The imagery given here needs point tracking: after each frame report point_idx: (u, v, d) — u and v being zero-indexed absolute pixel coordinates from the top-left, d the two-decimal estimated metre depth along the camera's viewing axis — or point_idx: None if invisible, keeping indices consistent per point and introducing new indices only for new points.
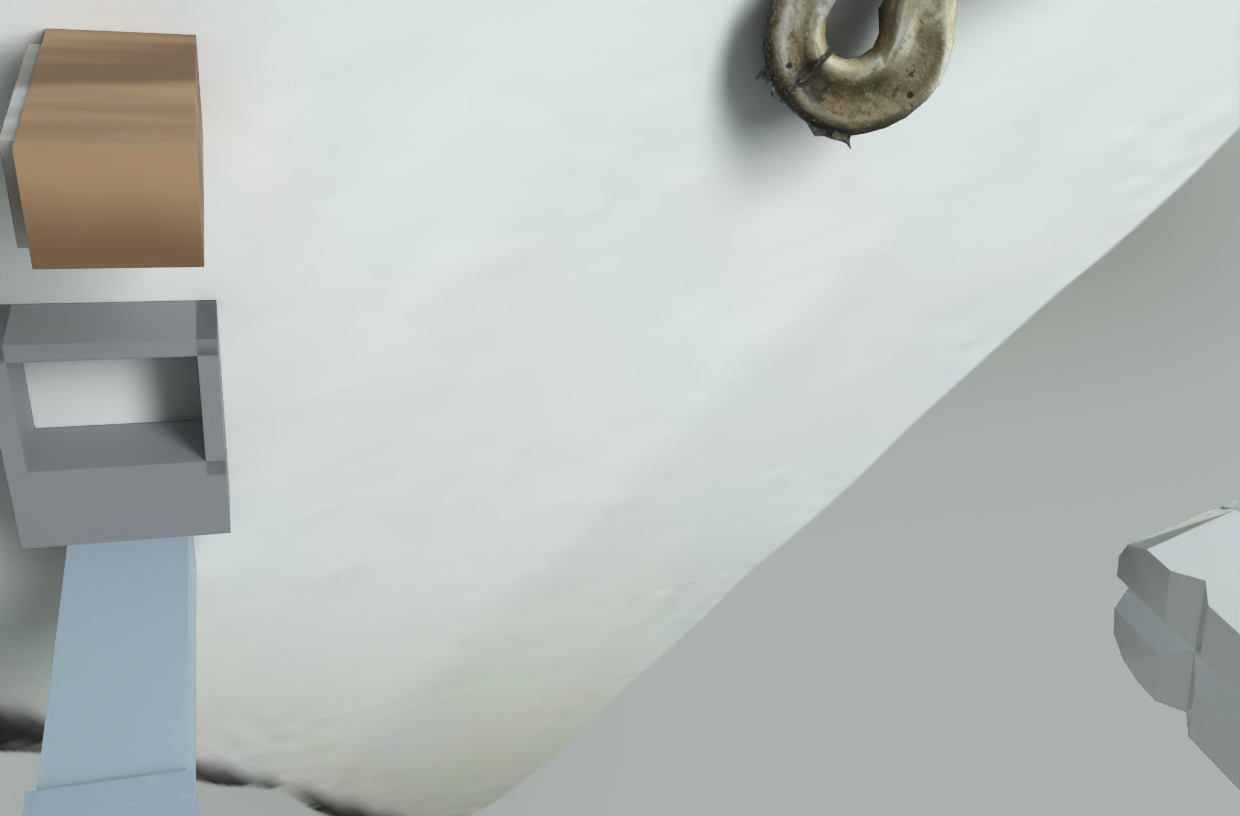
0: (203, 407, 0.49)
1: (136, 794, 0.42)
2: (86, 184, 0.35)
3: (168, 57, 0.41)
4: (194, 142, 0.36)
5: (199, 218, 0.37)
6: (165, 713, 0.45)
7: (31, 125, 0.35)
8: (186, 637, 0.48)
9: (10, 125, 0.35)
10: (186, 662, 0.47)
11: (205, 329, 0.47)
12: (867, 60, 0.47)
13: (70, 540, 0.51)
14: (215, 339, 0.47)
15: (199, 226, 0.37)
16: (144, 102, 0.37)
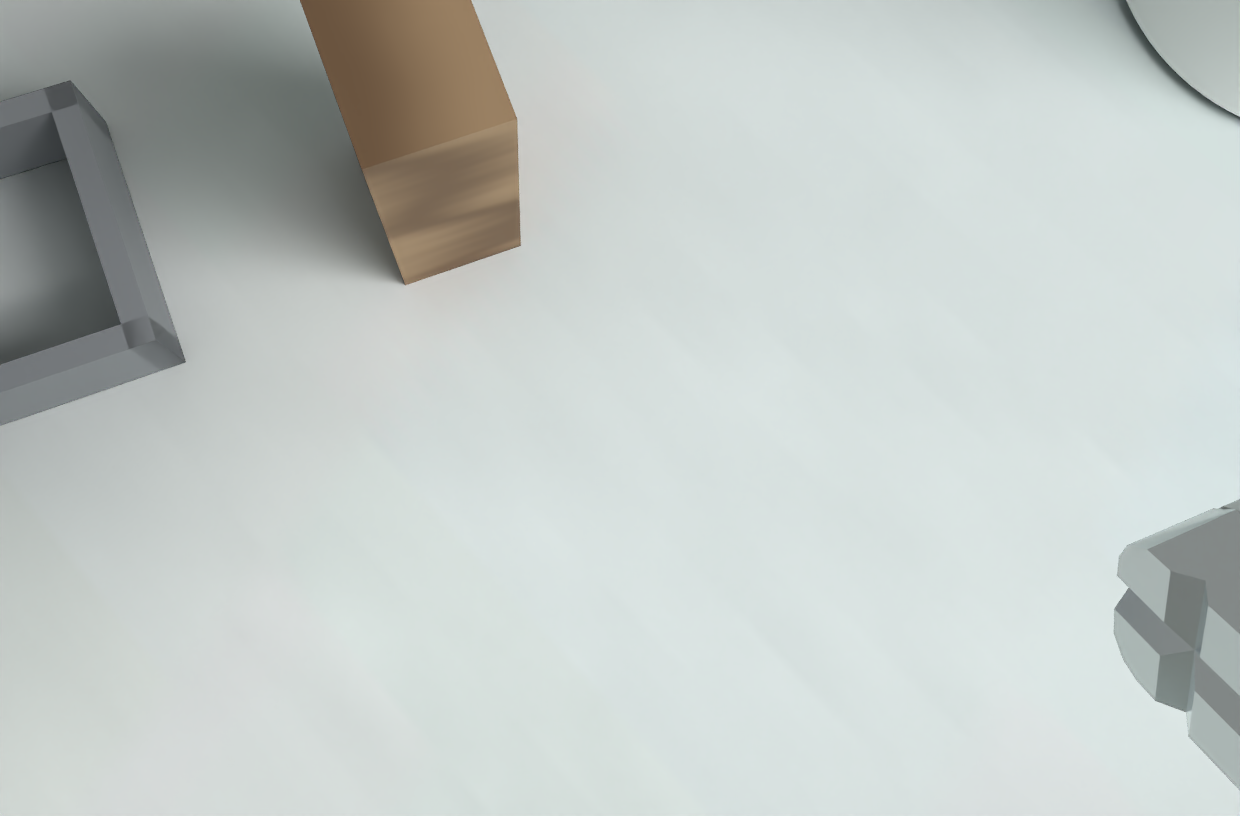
0: (33, 356, 0.34)
1: None
2: (431, 20, 0.29)
3: None
4: None
5: (429, 145, 0.29)
6: None
7: None
8: None
9: None
10: None
11: (159, 332, 0.35)
12: None
13: None
14: (154, 338, 0.34)
15: (417, 149, 0.28)
16: None
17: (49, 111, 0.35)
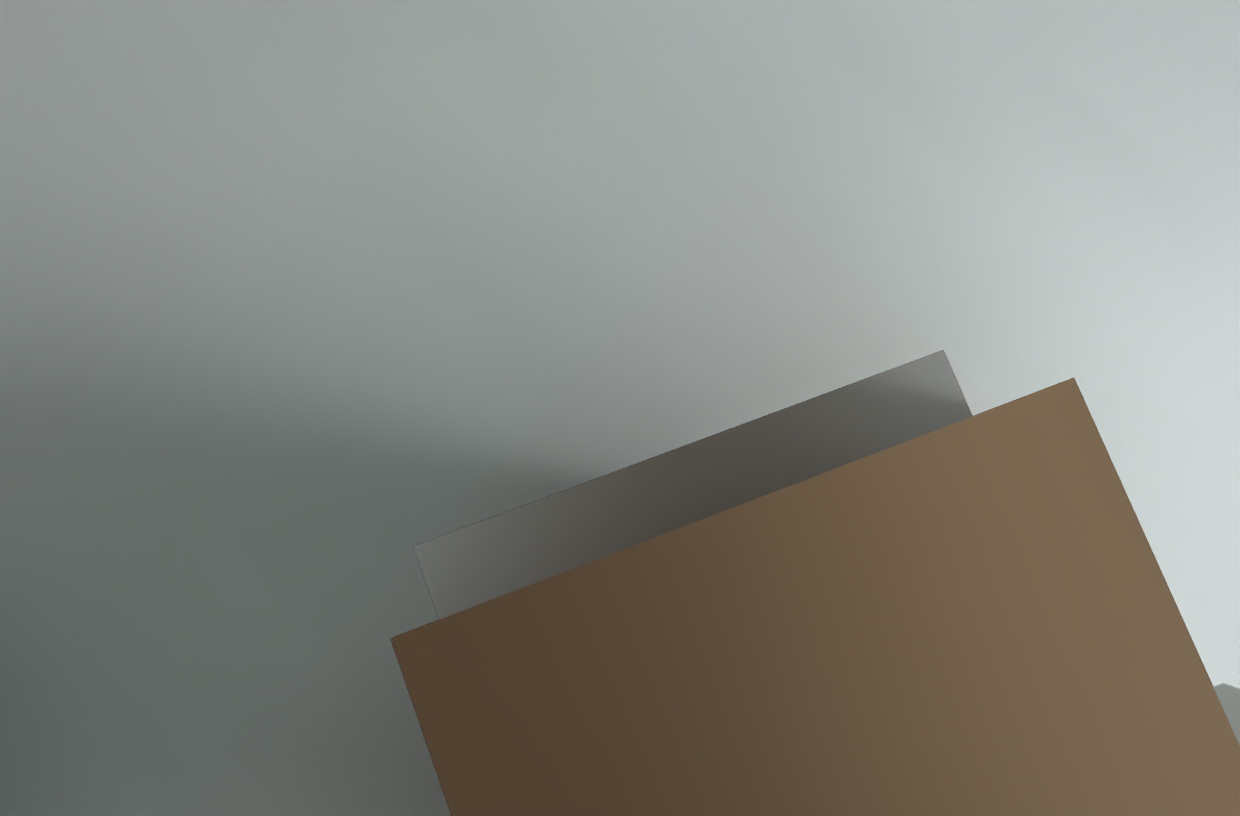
0: None
1: None
2: (1032, 770, 0.06)
3: None
4: None
5: None
6: None
7: None
8: None
9: None
10: None
11: None
12: None
13: None
14: None
15: None
16: None
17: None
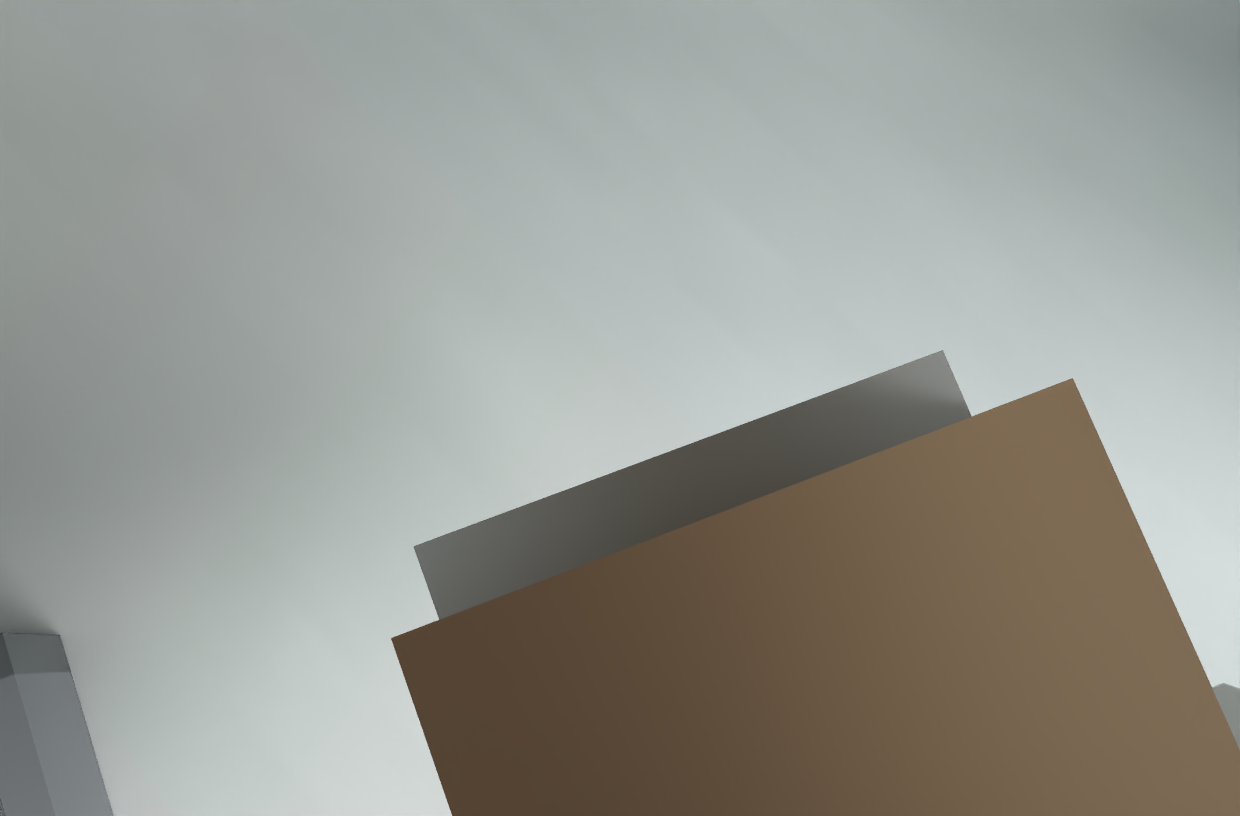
0: None
1: None
2: (1032, 771, 0.06)
3: None
4: None
5: None
6: None
7: None
8: None
9: None
10: None
11: None
12: None
13: None
14: None
15: None
16: None
17: None
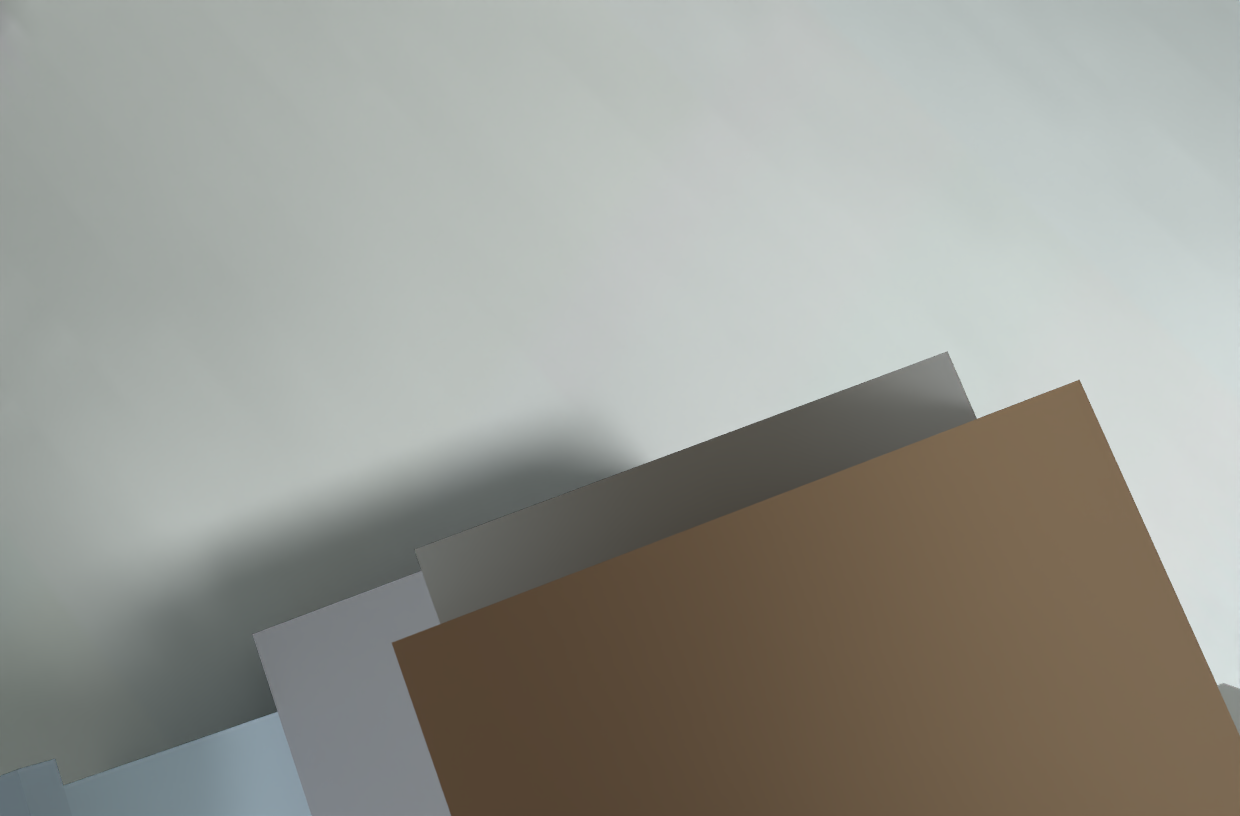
0: None
1: None
2: (1038, 774, 0.06)
3: None
4: None
5: None
6: None
7: None
8: None
9: None
10: None
11: None
12: None
13: (292, 714, 0.26)
14: None
15: None
16: None
17: None
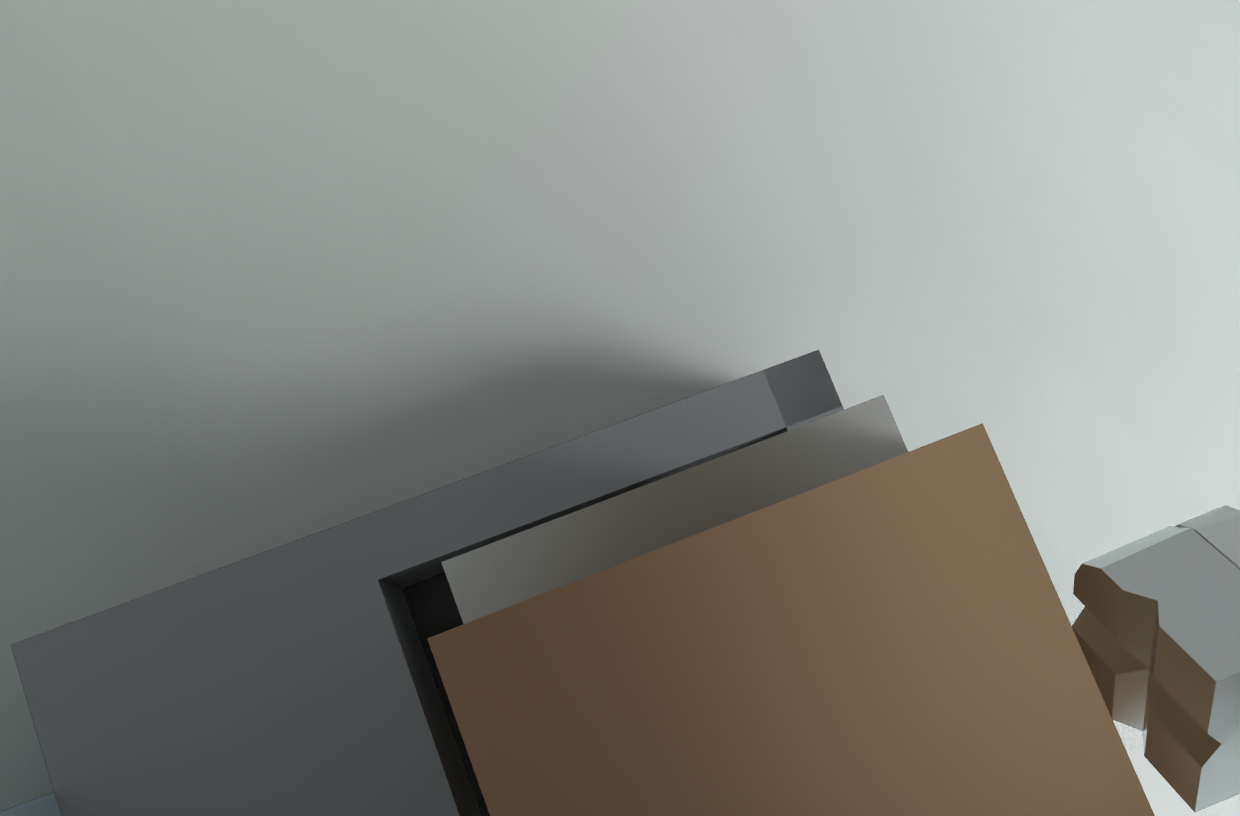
0: None
1: None
2: (944, 743, 0.08)
3: None
4: None
5: None
6: None
7: None
8: None
9: None
10: None
11: None
12: None
13: (82, 796, 0.14)
14: None
15: None
16: None
17: (780, 425, 0.15)
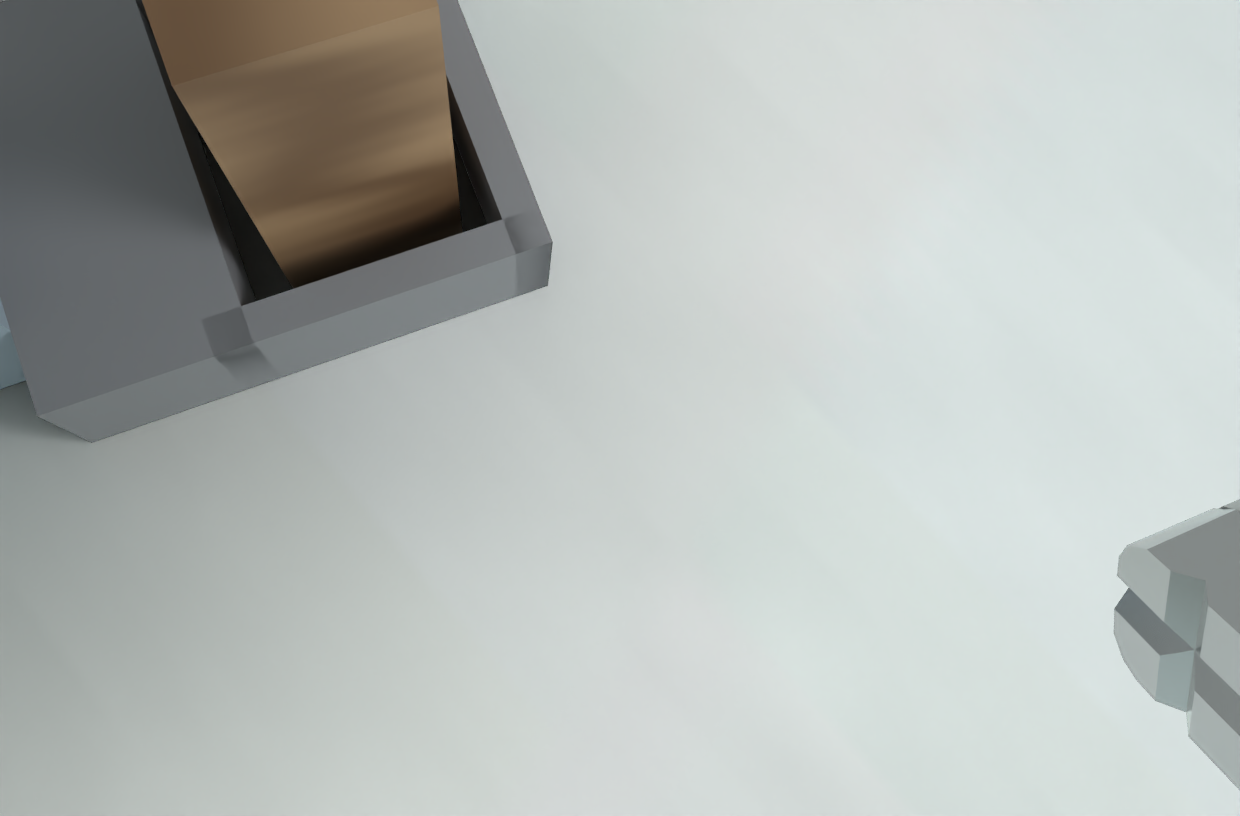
0: (382, 262, 0.24)
1: None
2: None
3: None
4: (440, 25, 0.18)
5: (289, 48, 0.17)
6: None
7: None
8: None
9: None
10: None
11: None
12: None
13: None
14: (549, 240, 0.24)
15: (269, 53, 0.17)
16: None
17: None
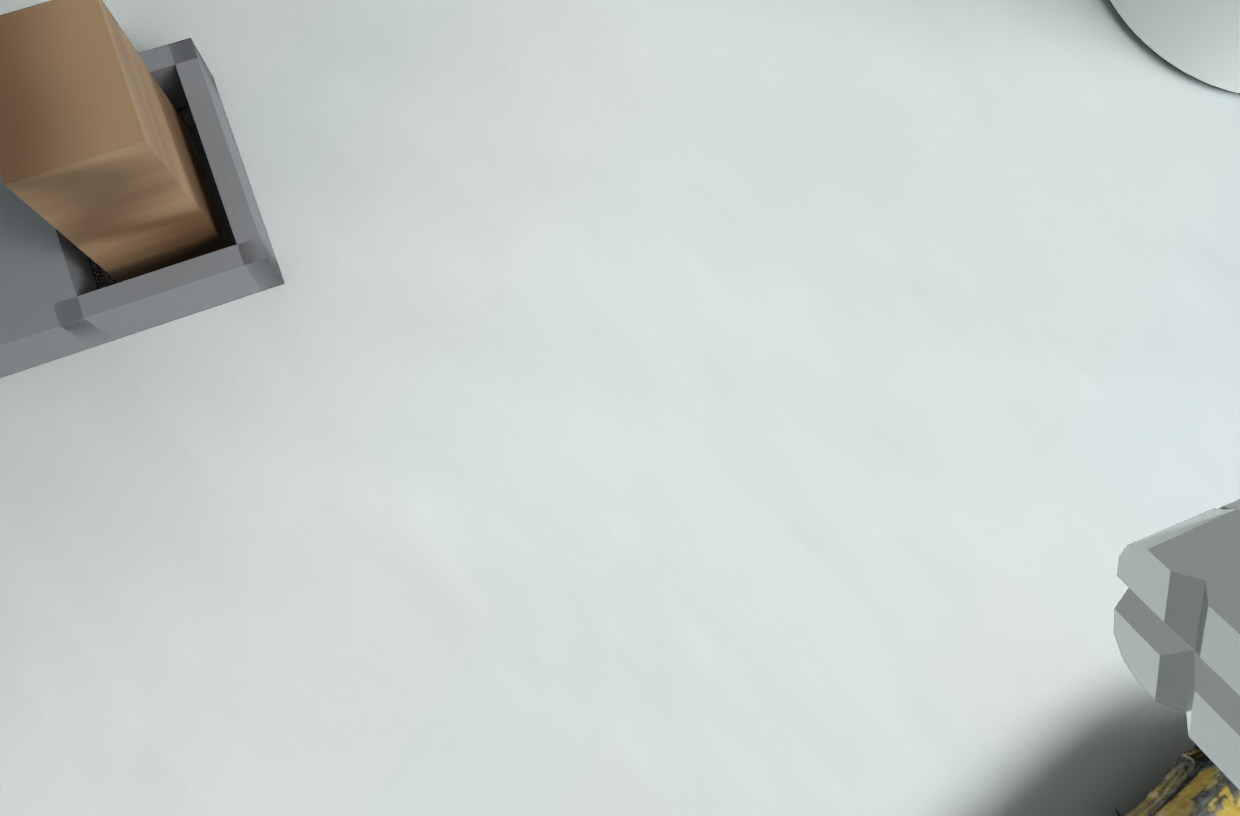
0: (162, 270, 0.40)
1: None
2: (73, 54, 0.33)
3: (207, 207, 0.41)
4: (152, 148, 0.34)
5: (65, 164, 0.33)
6: None
7: (116, 27, 0.35)
8: None
9: None
10: None
11: (267, 252, 0.41)
12: None
13: None
14: (265, 257, 0.40)
15: (55, 167, 0.33)
16: (167, 144, 0.37)
17: (173, 64, 0.41)
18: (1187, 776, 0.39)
